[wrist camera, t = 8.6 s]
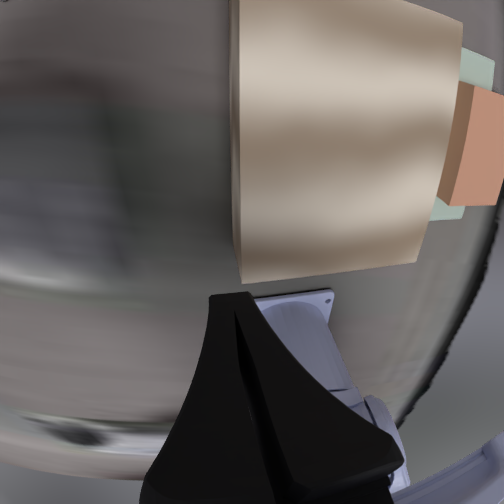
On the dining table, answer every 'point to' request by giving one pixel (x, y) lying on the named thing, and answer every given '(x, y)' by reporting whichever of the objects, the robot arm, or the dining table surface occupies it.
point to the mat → (478, 74)
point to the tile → (474, 149)
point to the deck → (336, 132)
